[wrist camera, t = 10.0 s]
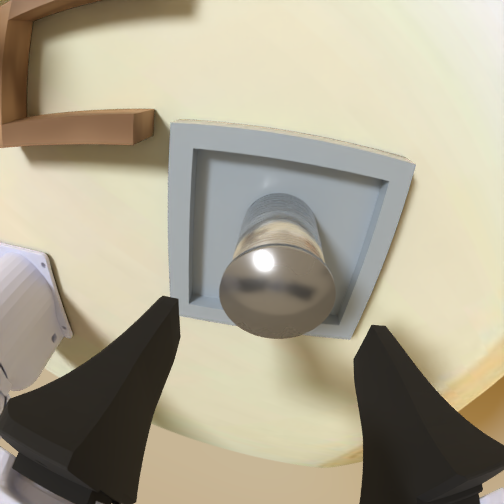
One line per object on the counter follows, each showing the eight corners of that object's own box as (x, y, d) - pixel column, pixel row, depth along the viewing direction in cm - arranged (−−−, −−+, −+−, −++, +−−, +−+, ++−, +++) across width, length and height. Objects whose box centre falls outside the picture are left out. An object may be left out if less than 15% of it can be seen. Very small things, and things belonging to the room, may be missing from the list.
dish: (347, 324, 20) (350, 339, 19) (177, 299, 20) (171, 314, 19) (405, 157, 14) (415, 164, 13) (180, 119, 14) (170, 122, 13)
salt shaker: (311, 266, 17) (320, 343, 12) (236, 256, 18) (217, 330, 12) (327, 196, 15) (349, 256, 10) (242, 184, 15) (221, 239, 10)
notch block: (153, 135, 15) (132, 144, 13) (15, 138, 15) (-10, 148, 13) (173, -32, 10) (156, -48, 7) (22, 8, 10) (-2, 6, 8)
